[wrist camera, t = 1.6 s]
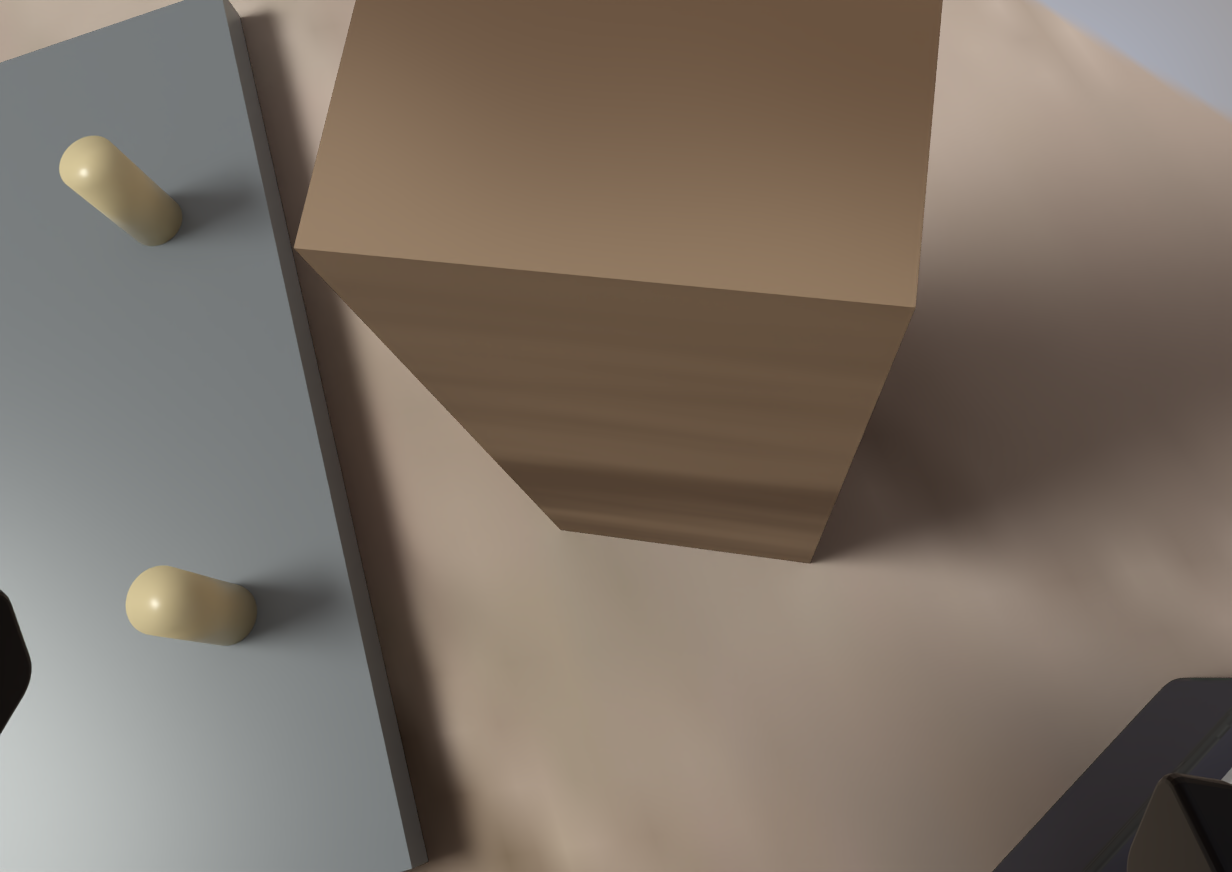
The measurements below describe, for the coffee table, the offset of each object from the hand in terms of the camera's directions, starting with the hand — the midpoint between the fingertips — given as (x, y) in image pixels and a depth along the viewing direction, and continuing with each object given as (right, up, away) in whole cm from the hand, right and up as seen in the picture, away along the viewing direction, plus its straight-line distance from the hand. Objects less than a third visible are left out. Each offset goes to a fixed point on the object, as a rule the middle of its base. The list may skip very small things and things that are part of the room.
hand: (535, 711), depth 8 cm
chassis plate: (-12, +1, +15) cm, 19 cm away
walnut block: (+2, +2, +13) cm, 14 cm away
